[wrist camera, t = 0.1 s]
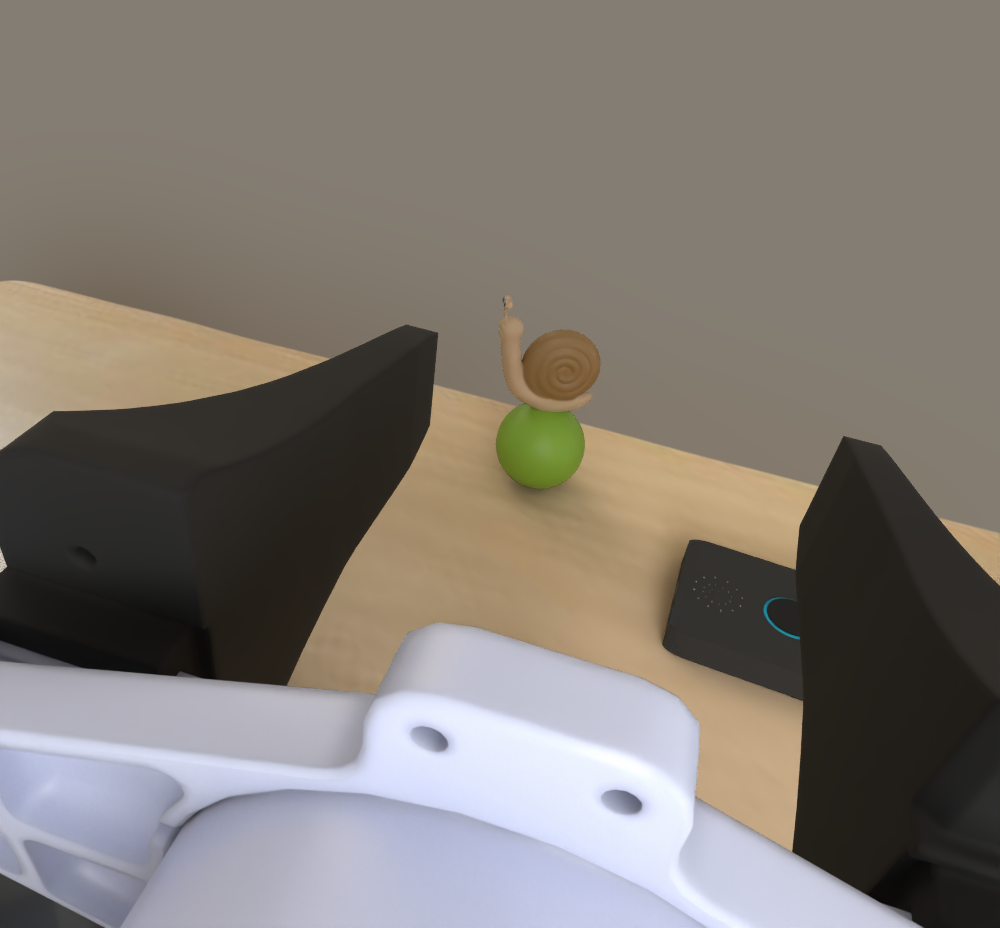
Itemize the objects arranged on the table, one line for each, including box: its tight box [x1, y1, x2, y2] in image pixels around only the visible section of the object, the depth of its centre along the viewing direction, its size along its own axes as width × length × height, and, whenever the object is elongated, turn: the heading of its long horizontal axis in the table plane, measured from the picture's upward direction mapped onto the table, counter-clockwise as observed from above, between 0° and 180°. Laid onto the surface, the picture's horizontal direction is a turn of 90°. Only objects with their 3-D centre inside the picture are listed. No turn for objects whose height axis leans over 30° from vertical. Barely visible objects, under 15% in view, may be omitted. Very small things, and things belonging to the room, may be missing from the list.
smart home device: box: [663, 540, 803, 700], centre depth 41 cm, size 8×2×20 cm
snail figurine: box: [496, 295, 600, 489], centre depth 47 cm, size 5×6×12 cm
